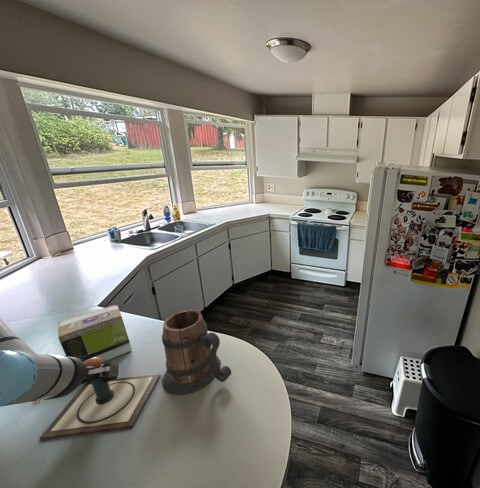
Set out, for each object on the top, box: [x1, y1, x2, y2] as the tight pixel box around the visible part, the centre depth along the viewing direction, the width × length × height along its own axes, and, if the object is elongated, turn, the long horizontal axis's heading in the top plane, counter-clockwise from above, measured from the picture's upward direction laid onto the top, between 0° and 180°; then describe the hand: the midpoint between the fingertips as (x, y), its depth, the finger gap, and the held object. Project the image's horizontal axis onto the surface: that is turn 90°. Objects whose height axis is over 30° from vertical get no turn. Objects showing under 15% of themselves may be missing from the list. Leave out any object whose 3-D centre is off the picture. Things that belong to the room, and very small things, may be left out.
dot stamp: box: [85, 357, 114, 405], centre depth 63 cm, size 4×4×13 cm
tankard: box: [161, 309, 232, 396], centre depth 76 cm, size 24×17×20 cm
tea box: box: [57, 304, 133, 364], centre depth 83 cm, size 15×10×15 cm
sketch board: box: [39, 373, 161, 441], centre depth 69 cm, size 20×16×1 cm
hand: (107, 375), depth 67 cm, fingers closed on dot stamp, 3 cm apart
